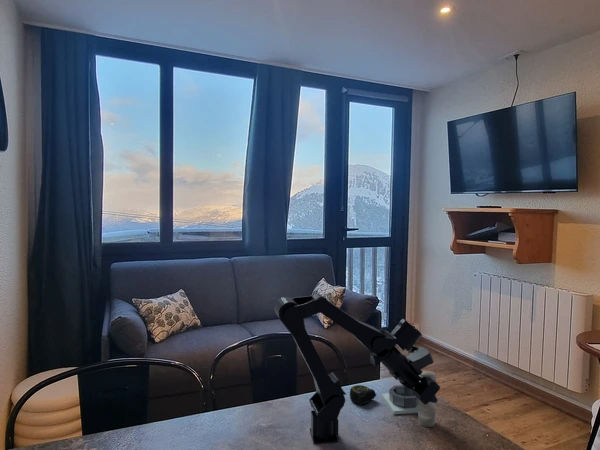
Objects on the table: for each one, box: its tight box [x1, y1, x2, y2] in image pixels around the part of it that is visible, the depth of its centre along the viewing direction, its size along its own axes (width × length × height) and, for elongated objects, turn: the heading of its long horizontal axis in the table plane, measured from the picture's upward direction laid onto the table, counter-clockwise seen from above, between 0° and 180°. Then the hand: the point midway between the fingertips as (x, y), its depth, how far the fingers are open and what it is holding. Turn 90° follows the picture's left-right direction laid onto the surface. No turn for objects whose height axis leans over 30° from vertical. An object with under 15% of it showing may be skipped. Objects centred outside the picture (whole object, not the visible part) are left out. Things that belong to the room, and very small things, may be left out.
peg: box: [417, 370, 437, 428], centre depth 114 cm, size 4×4×14 cm
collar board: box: [380, 392, 418, 415], centre depth 125 cm, size 11×11×1 cm
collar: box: [388, 384, 419, 408], centre depth 125 cm, size 8×8×3 cm
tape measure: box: [349, 384, 377, 405], centre depth 127 cm, size 7×7×4 cm
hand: (431, 397), depth 114 cm, fingers closed on peg, 4 cm apart
